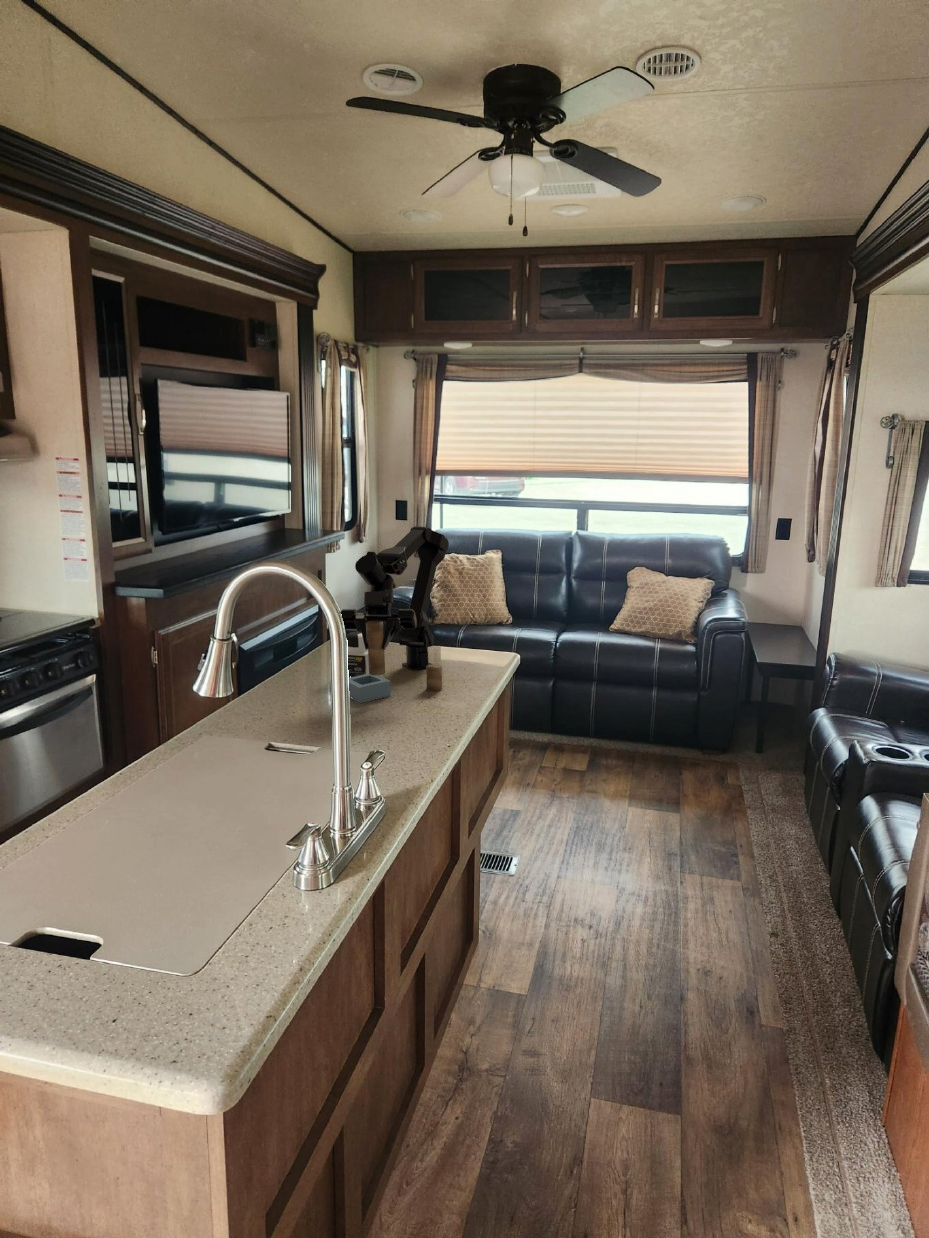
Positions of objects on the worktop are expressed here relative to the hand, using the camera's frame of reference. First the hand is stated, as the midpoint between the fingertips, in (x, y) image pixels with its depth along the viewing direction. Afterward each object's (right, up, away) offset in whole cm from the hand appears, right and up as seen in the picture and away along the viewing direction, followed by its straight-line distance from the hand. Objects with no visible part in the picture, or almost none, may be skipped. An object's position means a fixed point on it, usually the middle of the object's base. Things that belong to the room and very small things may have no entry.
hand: (374, 648), depth 203 cm
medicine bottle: (-7, -8, +24) cm, 26 cm away
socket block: (-3, -12, +7) cm, 14 cm away
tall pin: (0, -6, +3) cm, 7 cm away
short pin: (+14, -11, +11) cm, 21 cm away
